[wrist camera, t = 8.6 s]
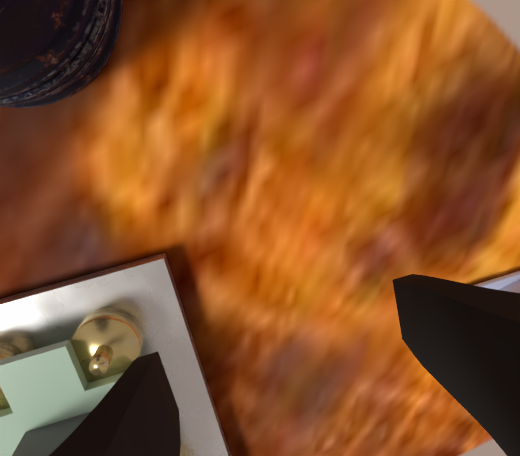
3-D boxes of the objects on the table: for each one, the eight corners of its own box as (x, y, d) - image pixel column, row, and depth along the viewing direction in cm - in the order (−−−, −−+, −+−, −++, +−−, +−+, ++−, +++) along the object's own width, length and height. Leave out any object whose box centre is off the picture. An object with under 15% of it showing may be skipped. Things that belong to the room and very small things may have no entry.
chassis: (165, 252, 20) (159, 277, 17) (242, 489, 25) (250, 549, 21) (-99, 326, 19) (-165, 370, 16) (29, 562, 23) (0, 639, 20)
